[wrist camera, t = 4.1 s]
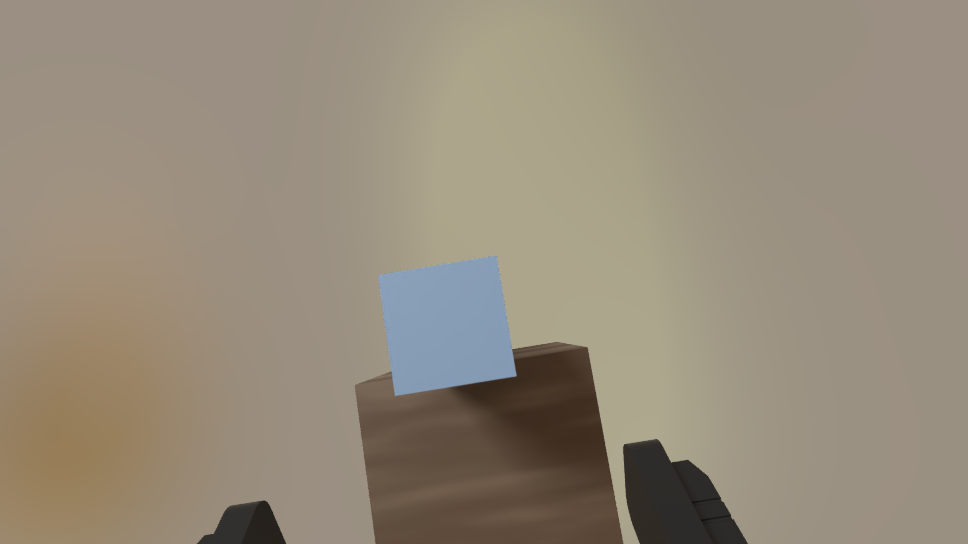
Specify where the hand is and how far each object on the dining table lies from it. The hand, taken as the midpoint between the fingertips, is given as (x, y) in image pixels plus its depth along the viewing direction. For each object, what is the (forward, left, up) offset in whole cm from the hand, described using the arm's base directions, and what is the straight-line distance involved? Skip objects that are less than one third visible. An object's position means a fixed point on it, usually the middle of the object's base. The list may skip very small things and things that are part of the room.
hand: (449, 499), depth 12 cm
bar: (-12, +12, +2) cm, 17 cm away
